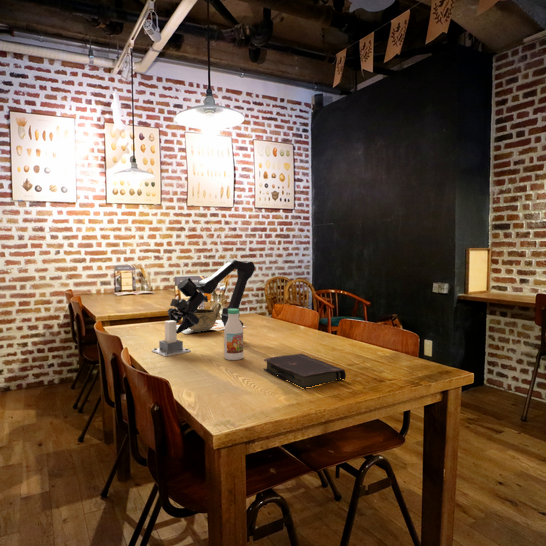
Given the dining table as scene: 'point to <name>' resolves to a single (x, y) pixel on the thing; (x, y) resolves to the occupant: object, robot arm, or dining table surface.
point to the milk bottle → (233, 336)
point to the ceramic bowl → (206, 318)
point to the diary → (303, 370)
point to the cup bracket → (170, 348)
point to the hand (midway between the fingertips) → (171, 331)
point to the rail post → (170, 331)
